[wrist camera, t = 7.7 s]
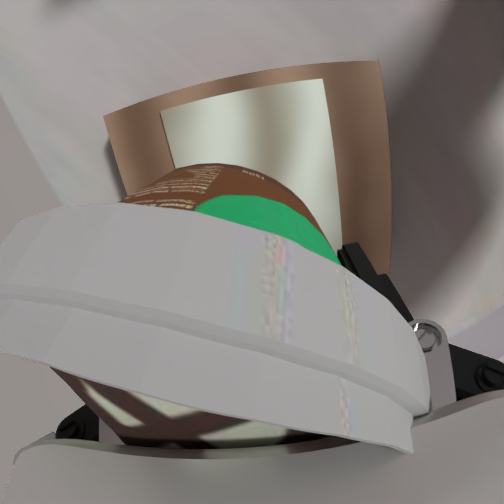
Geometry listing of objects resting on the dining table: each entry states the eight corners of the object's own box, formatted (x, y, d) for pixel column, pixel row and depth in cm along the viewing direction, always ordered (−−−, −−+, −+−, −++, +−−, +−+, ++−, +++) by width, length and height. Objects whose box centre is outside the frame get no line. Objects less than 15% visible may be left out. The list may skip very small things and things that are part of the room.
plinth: (362, 63, 17) (380, 60, 15) (377, 254, 25) (390, 274, 22) (120, 112, 19) (101, 116, 16) (179, 287, 27) (172, 310, 24)
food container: (356, 338, 15) (397, 513, 7) (247, 358, 16) (237, 533, 8) (328, 93, 10) (595, 157, 1) (165, 132, 10) (-69, 300, 2)
